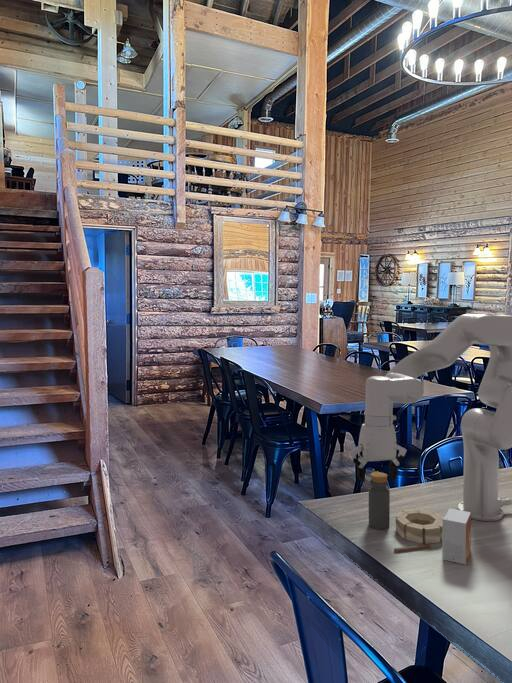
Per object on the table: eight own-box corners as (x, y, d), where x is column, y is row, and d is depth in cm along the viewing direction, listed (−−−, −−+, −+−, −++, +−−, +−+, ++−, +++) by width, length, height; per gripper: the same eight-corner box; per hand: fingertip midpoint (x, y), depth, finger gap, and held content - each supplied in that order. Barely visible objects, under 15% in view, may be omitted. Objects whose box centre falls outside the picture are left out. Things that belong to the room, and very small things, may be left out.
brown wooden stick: (428, 546, 132) (428, 543, 132) (430, 547, 131) (430, 545, 131) (393, 551, 130) (393, 548, 130) (395, 552, 129) (395, 550, 129)
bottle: (390, 530, 141) (390, 478, 140) (368, 529, 142) (368, 477, 141) (388, 521, 147) (389, 471, 146) (368, 520, 148) (368, 470, 147)
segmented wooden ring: (428, 520, 147) (428, 507, 147) (453, 540, 135) (454, 525, 135) (389, 525, 145) (389, 511, 144) (411, 545, 132) (411, 531, 132)
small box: (465, 565, 122) (466, 524, 121) (441, 559, 125) (442, 519, 124) (471, 551, 129) (471, 511, 128) (448, 546, 132) (448, 507, 131)
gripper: (399, 415, 148) (398, 472, 149) (344, 418, 144) (343, 476, 145) (413, 421, 140) (411, 481, 142) (355, 424, 137) (354, 486, 138)
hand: (377, 479), depth 143 cm, fingers open, 9 cm apart
